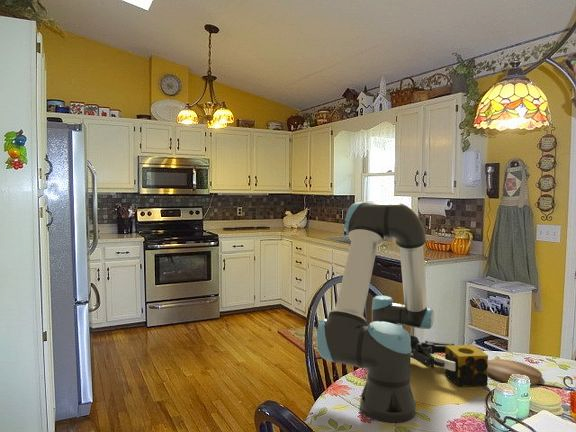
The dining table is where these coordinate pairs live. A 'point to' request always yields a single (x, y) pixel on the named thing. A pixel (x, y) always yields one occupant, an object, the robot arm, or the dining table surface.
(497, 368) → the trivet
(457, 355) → the yellow spotted cube
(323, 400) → the dining table surface
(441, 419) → the dining table surface
